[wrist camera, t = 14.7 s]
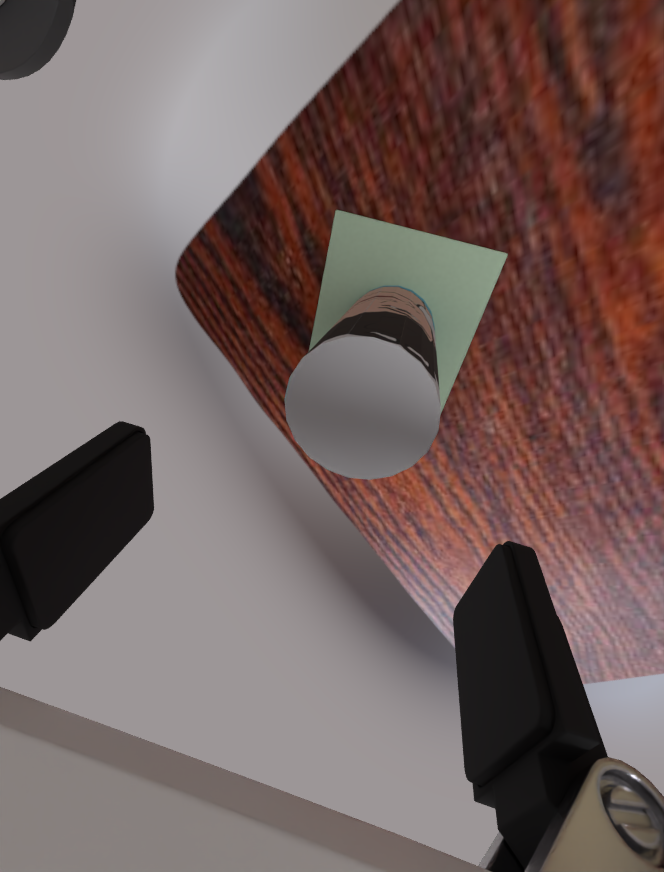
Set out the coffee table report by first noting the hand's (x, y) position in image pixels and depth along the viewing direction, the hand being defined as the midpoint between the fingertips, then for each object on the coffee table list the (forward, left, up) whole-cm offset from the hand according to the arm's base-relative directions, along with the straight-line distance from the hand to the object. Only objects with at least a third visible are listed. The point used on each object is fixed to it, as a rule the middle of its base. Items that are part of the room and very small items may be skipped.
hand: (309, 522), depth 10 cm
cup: (0, 0, -22) cm, 22 cm away
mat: (0, 0, -23) cm, 23 cm away
